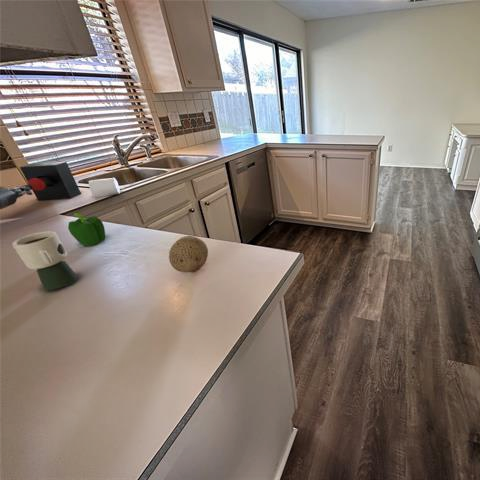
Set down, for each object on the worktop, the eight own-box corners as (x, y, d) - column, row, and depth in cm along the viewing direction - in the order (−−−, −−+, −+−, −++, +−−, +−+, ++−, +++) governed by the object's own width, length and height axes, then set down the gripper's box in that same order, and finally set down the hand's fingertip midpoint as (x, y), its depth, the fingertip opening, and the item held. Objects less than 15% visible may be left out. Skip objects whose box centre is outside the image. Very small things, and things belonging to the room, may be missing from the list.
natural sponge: (209, 280, 65) (199, 244, 60) (170, 285, 63) (157, 249, 59) (214, 261, 73) (206, 228, 68) (180, 265, 71) (169, 232, 67)
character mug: (86, 285, 64) (60, 238, 58) (47, 301, 59) (14, 251, 53) (75, 270, 70) (50, 226, 64) (39, 283, 66) (9, 237, 60)
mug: (119, 195, 129) (112, 179, 126) (94, 199, 125) (86, 182, 122) (122, 189, 139) (116, 174, 135) (99, 192, 135) (92, 177, 131)
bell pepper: (113, 241, 85) (100, 212, 80) (81, 251, 80) (65, 221, 75) (105, 234, 90) (93, 207, 85) (75, 243, 84) (59, 215, 80)
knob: (46, 190, 119) (39, 177, 116) (32, 191, 118) (25, 178, 115) (55, 186, 124) (49, 174, 122) (42, 187, 123) (35, 175, 121)
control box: (71, 198, 127) (54, 165, 120) (38, 201, 125) (19, 167, 118) (81, 193, 134) (66, 161, 127) (50, 195, 132) (33, 163, 125)
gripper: (9, 188, 98) (43, 177, 114) (-33, 191, 96) (7, 179, 112) (20, 207, 102) (51, 193, 117) (-20, 210, 100) (17, 196, 115)
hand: (30, 186), depth 114 cm, fingers closed
